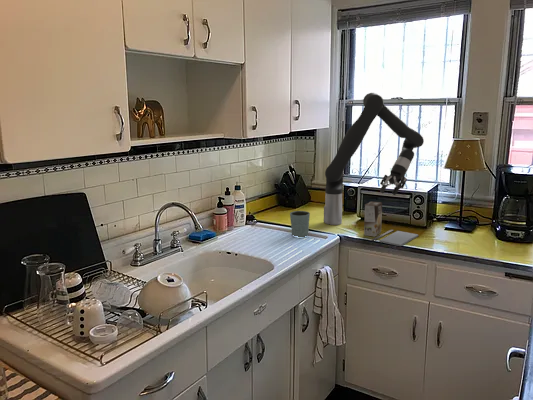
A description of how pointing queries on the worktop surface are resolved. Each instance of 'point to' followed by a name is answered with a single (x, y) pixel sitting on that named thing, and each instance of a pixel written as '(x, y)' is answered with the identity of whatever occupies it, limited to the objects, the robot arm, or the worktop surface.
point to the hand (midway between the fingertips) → (387, 193)
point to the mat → (399, 238)
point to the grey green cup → (300, 223)
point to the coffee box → (373, 218)
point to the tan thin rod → (382, 235)
